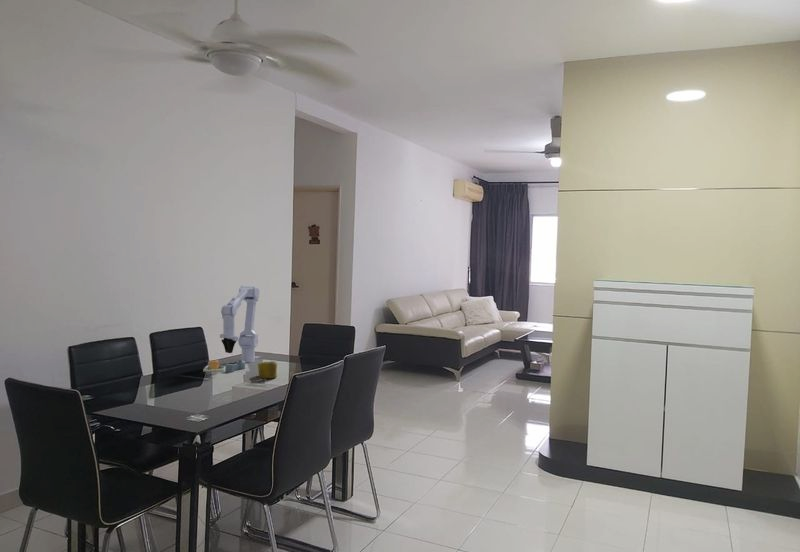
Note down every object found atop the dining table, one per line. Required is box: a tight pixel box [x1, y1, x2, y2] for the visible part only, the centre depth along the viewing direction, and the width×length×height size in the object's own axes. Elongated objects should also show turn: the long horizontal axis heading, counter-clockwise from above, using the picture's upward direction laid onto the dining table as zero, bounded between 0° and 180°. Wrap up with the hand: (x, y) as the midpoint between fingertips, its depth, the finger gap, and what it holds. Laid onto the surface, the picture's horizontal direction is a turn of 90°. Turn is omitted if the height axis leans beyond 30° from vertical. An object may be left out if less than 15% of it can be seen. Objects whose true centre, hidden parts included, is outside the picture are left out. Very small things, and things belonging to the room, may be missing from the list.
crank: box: [224, 359, 246, 373], centre depth 319 cm, size 12×5×4 cm, turn 158°
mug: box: [257, 361, 278, 380], centre depth 306 cm, size 12×10×10 cm
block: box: [209, 359, 220, 369], centre depth 319 cm, size 4×4×5 cm
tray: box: [202, 364, 225, 372], centre depth 320 cm, size 11×11×2 cm
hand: (228, 352), depth 320 cm, fingers closed
